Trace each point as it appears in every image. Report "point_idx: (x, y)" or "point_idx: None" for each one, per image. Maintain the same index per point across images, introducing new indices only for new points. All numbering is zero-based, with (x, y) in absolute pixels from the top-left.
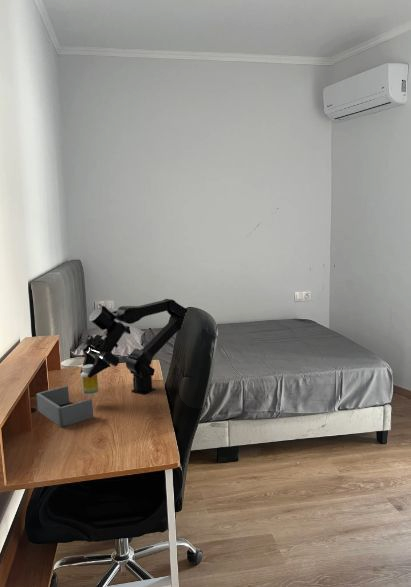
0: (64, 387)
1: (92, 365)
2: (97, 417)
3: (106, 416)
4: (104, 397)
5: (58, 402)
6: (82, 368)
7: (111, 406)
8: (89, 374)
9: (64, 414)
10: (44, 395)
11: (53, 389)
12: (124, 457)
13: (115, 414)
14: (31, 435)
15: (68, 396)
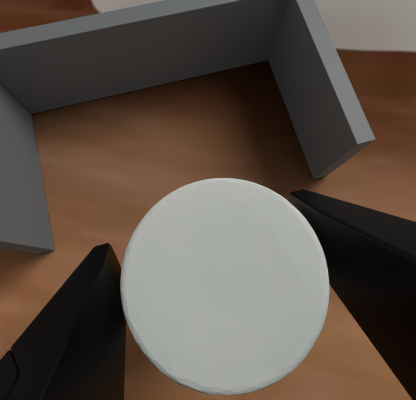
0: (347, 123)
1: (212, 363)
2: (25, 272)
3: (7, 319)
4: (310, 370)
5: (300, 122)
6: (207, 184)
7: (138, 378)
8: (80, 265)
9: None
10: (294, 25)
11: (330, 59)
12: None
13: None
14: (10, 5)
15: (327, 167)
